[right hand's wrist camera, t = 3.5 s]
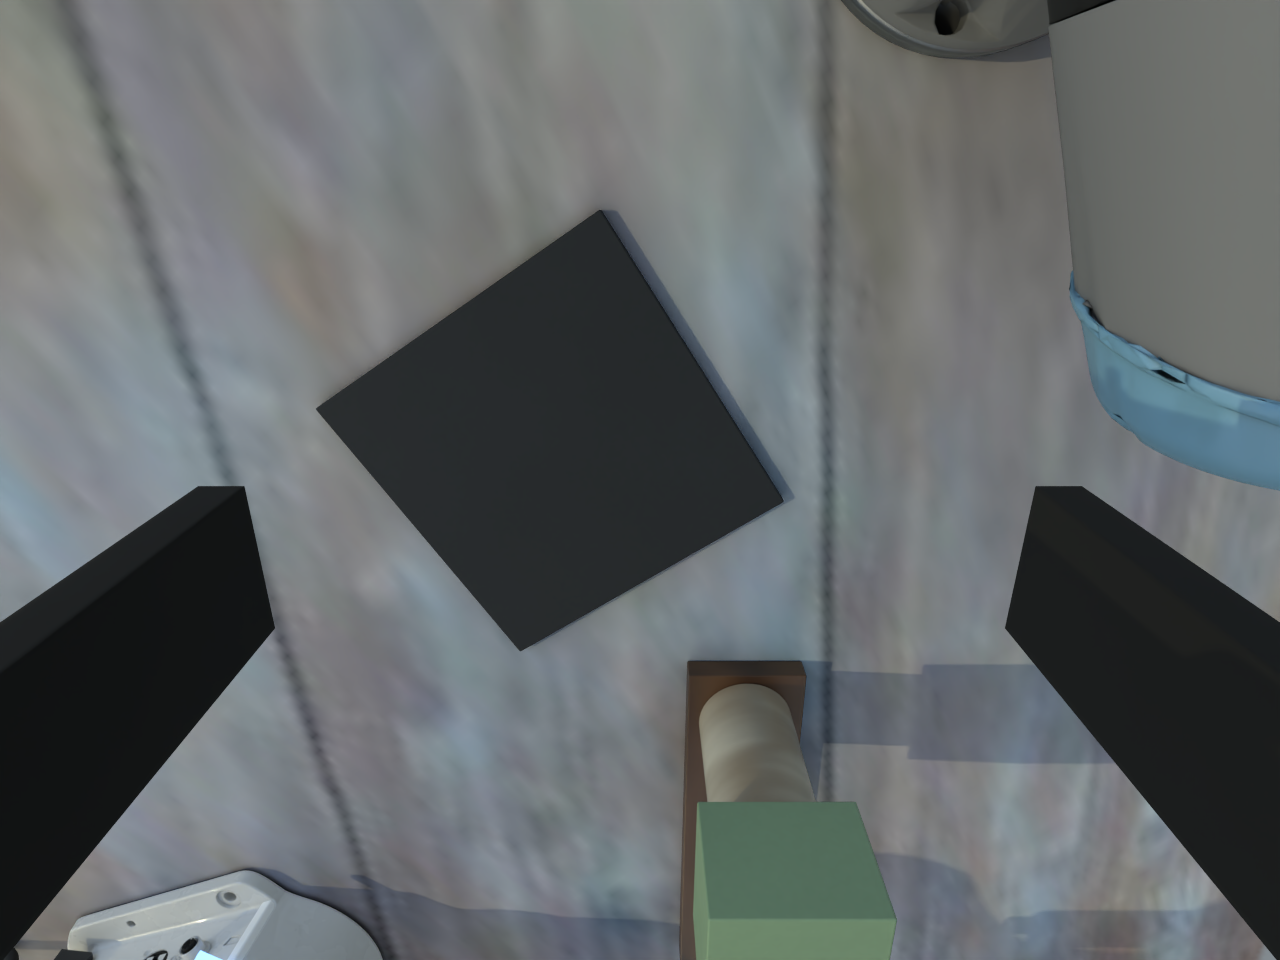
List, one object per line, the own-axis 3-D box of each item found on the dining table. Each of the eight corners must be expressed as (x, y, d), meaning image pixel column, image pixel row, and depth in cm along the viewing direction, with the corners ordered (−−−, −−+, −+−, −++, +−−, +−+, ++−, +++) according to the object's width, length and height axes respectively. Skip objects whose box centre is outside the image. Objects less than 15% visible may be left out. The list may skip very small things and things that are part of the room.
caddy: (801, 660, 45) (851, 808, 35) (774, 944, 55) (806, 1130, 44) (687, 660, 45) (701, 807, 35) (679, 944, 55) (688, 1129, 44)
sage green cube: (856, 800, 34) (897, 920, 29) (840, 913, 37) (875, 1042, 32) (696, 800, 34) (708, 920, 29) (692, 913, 37) (702, 1042, 32)
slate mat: (600, 209, 36) (600, 209, 35) (782, 497, 41) (784, 501, 41) (319, 405, 39) (315, 409, 39) (521, 646, 45) (520, 652, 44)
